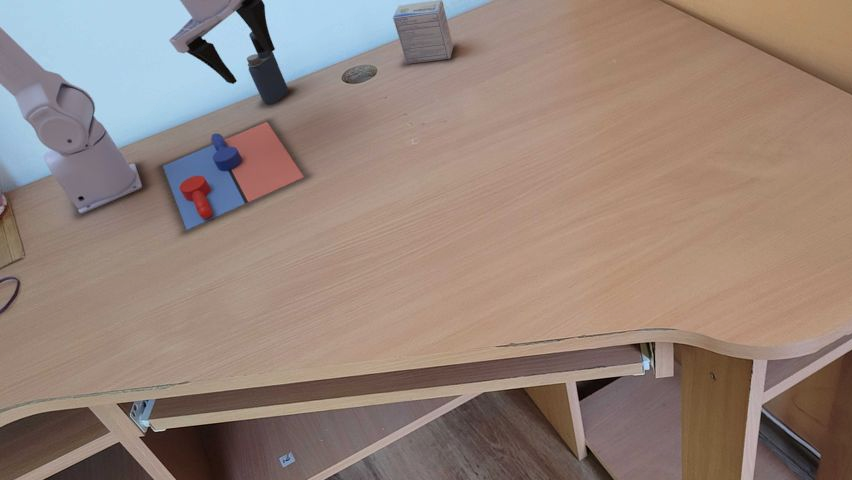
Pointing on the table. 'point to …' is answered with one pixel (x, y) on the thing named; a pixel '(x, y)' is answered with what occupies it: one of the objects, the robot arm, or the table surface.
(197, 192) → the red spoon
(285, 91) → the vaping device
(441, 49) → the medicine box
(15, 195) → the table surface
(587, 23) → the table surface
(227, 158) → the blue spoon
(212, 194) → the sorting mat
